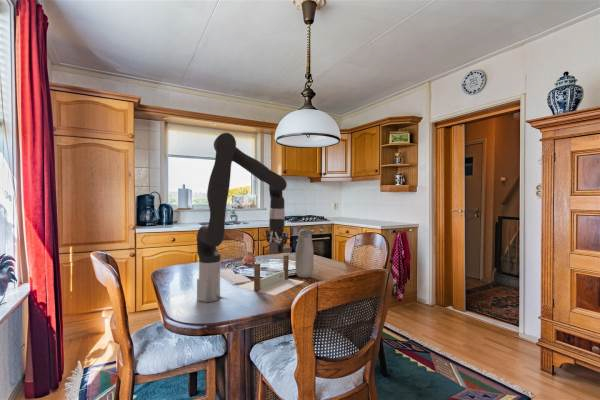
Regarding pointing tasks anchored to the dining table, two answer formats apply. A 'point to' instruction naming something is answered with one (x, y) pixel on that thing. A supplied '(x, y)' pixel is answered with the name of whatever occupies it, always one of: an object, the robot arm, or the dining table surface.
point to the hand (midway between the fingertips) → (276, 251)
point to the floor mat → (274, 286)
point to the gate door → (272, 279)
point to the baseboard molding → (233, 277)
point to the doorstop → (274, 248)
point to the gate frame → (257, 272)
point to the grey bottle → (304, 254)
